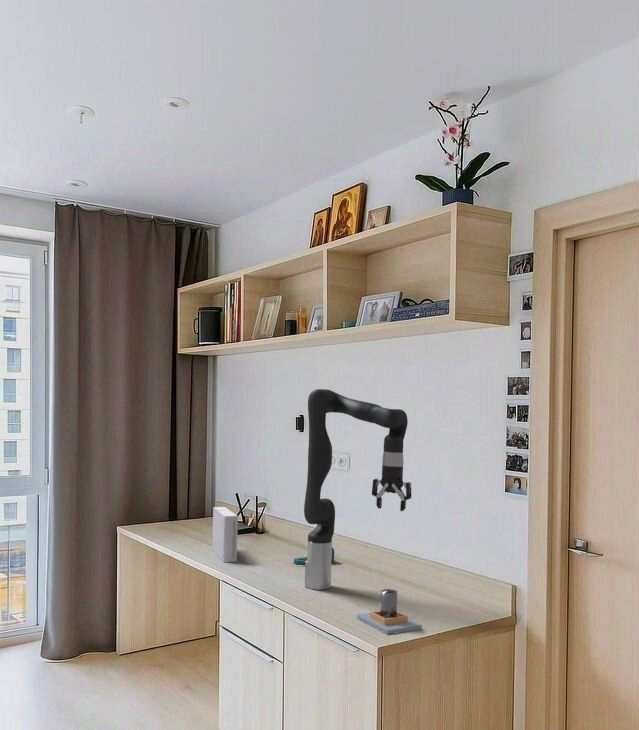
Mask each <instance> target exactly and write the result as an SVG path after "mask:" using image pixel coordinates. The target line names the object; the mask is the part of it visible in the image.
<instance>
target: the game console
mask: <svg viewBox="0 0 639 730" xmlns="http://www.w3.org/2000/svg"><path fill="white" fill-rule="evenodd" d="M212 512H213V513H212V544H211V545H212V551H213V552H214V554H216V556H217V557H218V558H219V559H220V560H221V561H222V562H223V563H237V561H238V527H239V524H238V523H239V521H238V520H239V518H238V517H239V516H238V515H237V514H236V513H234V512H232V511H231V510H230V509H228V508H227V507H226V506H214V507H213V509H212Z"/></svg>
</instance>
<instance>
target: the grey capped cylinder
mask: <svg viewBox="0 0 639 730" xmlns="http://www.w3.org/2000/svg"><path fill="white" fill-rule="evenodd" d="M380 611H381V617H383V618H392V617H397V611H398V590H395V589H393V588H387V589H386V588H385V589H381V590H380Z"/></svg>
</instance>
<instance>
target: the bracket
mask: <svg viewBox="0 0 639 730" xmlns="http://www.w3.org/2000/svg"><path fill="white" fill-rule="evenodd" d="M307 558H308V556H303V557H296V558H294V559H293V565H294V564H296V565H305V562H306V561H307ZM331 562H334V563H335V548H334V547H333V546H332V559H331ZM296 565H295V566H296Z"/></svg>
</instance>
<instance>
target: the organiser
mask: <svg viewBox="0 0 639 730" xmlns="http://www.w3.org/2000/svg"><path fill="white" fill-rule="evenodd" d="M357 618H358V619H357ZM356 619H357V620H359V619H360V621H361V620H362V621H361V622H363V621H364V622H363V623H365V622H366V623H365V624H367V623H368V624H370V625H371V626H370V625H369V626H370V627H372V626H373V627H372V628H374V627H375V628H374V629H376V628H377V629H376V630H378V629H379V630H381V631H383V632H385V633H386V634H385V633H384V634H385V635H390V634H389V633H393V634H397V633H396V632H399V633H405V632H404V631H406V632H412V631H417V630H418V629H419V630H422V627H423V626H422V624H420V623H418V622H416V621H414V620H412V619H410V618H409V616H408V615H406V614H405V613H402V612H401V611H398V610H397V617H392V618H383V617H381V610H375V611H370V612H365V613H359V614H358V613H357V614H356ZM368 624H367V625H368ZM379 630H378V631H379ZM411 630H412V631H411ZM381 631H380V632H381ZM383 632H382V633H383Z"/></svg>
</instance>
